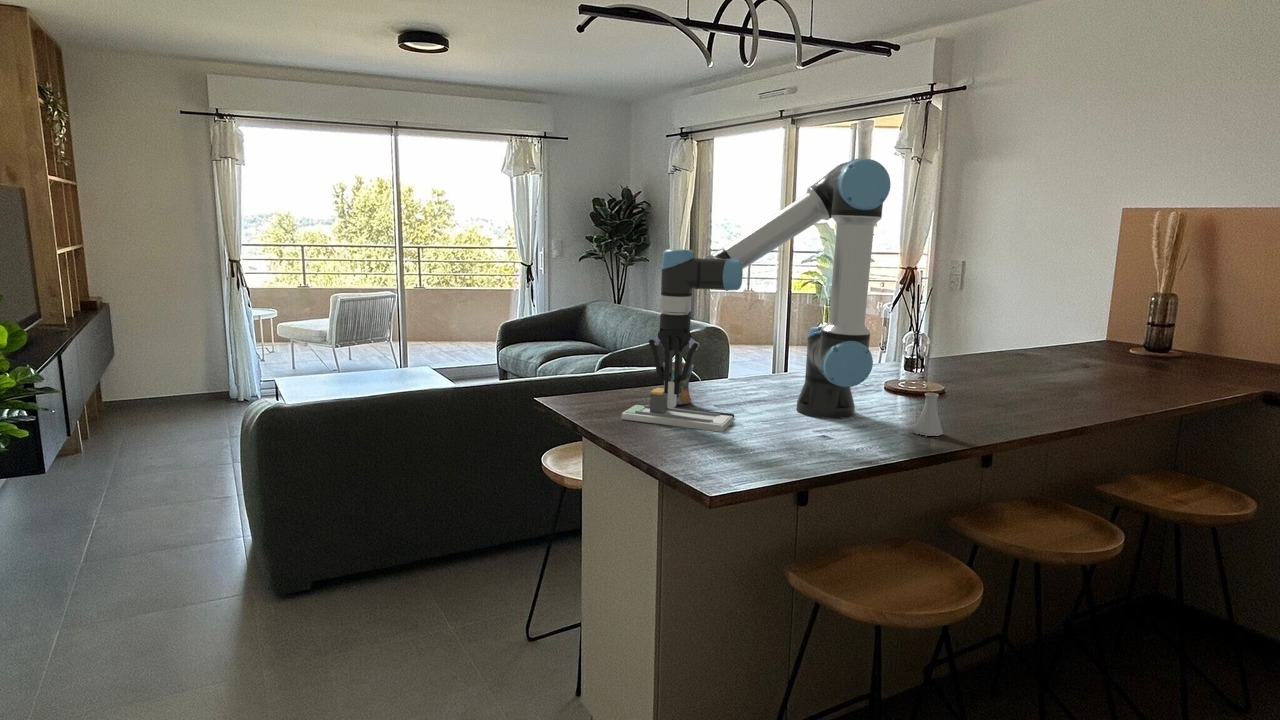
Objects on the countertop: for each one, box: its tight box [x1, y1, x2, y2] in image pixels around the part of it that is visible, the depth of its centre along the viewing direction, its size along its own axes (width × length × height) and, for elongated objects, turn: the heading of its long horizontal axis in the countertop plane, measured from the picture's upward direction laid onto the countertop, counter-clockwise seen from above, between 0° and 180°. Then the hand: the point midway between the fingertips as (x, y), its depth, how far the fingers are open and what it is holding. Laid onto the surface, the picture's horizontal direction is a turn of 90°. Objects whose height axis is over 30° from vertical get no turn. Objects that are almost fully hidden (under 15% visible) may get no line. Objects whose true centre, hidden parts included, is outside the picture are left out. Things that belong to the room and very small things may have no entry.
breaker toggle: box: [649, 387, 668, 414], centre depth 193 cm, size 3×5×6 cm, turn 160°
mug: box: [663, 361, 695, 406], centre depth 212 cm, size 12×9×11 cm
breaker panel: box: [621, 404, 734, 433], centre depth 192 cm, size 26×10×2 cm, turn 69°
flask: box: [912, 392, 944, 437], centre depth 186 cm, size 7×7×10 cm
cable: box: [674, 407, 735, 419], centre depth 199 cm, size 23×1×1 cm, turn 73°
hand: (671, 406), depth 192 cm, fingers closed
